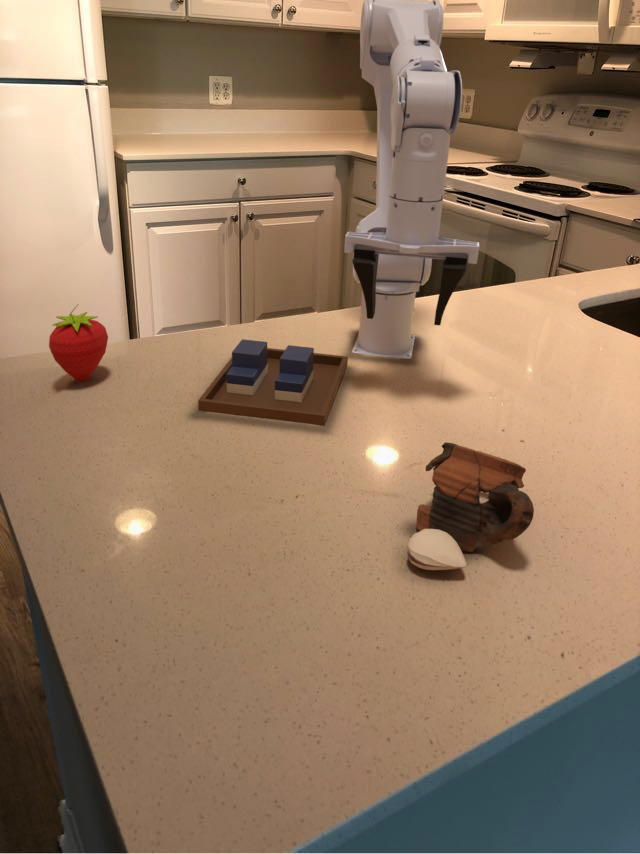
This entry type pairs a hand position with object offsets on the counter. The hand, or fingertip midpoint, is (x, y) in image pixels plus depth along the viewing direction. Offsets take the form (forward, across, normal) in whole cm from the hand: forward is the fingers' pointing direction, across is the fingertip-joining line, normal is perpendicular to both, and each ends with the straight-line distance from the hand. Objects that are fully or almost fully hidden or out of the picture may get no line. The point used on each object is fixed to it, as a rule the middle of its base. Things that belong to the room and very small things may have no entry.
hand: (403, 319), depth 82 cm
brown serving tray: (+9, -14, -3) cm, 17 cm away
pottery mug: (+10, +9, -26) cm, 29 cm away
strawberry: (+10, -37, -7) cm, 39 cm away
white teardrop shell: (+10, +6, -32) cm, 34 cm away
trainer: (+9, -12, -3) cm, 15 cm away
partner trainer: (+9, -18, -3) cm, 20 cm away
